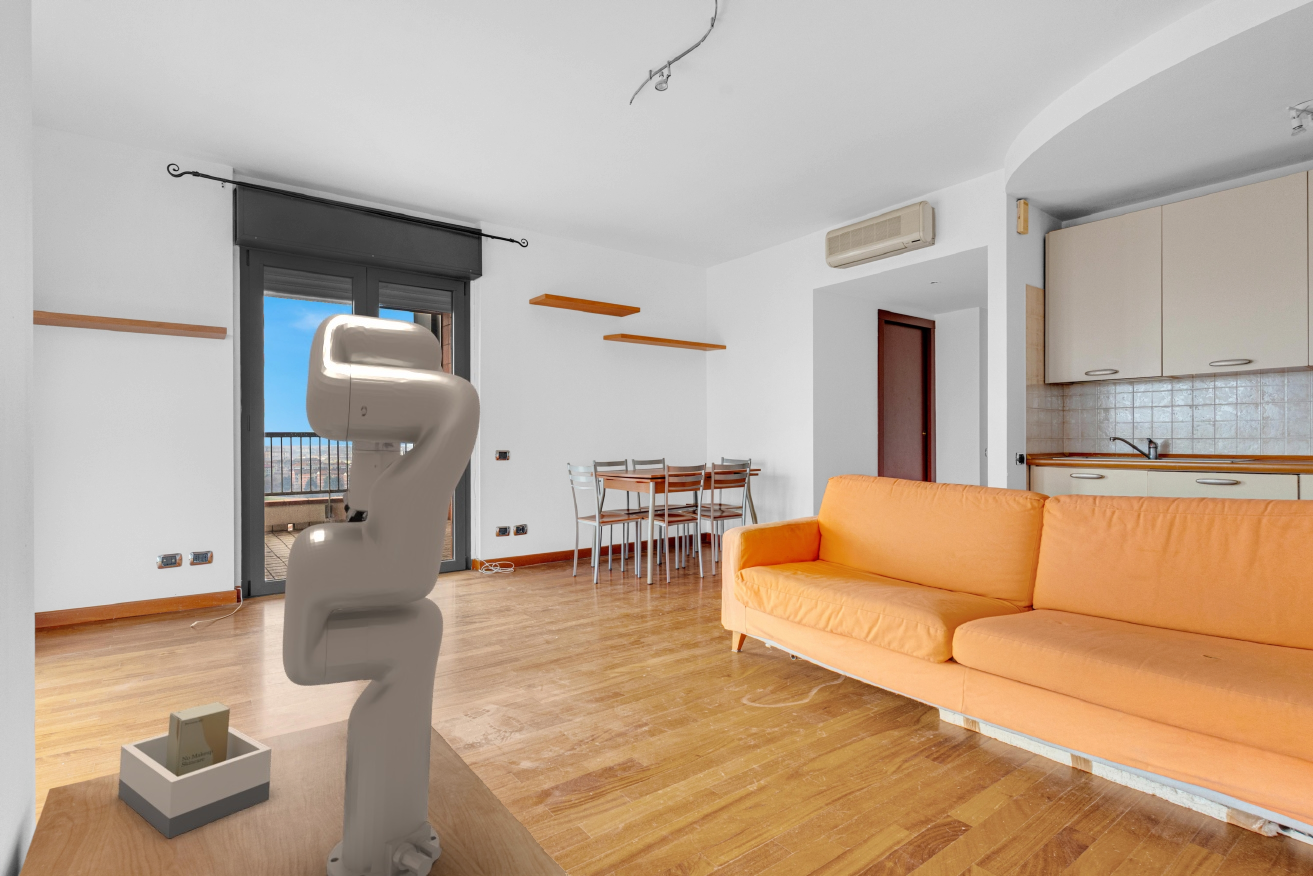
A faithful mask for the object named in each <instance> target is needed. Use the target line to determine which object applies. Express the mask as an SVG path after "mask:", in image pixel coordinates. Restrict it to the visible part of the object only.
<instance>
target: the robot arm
mask: <svg viewBox="0 0 1313 876" xmlns="http://www.w3.org/2000/svg"><path fill="white" fill-rule="evenodd" d="M442 353H443V351H442V347H441V344H440V341H439V340H438V338H437V337H436V335H435V334H434V333H433V332H432V331H431V330H430V329H428V328H427V327H425V326H424V325H421V324H419V323H415V322H413V321H412V322H411V321H408V320H402V319H393V318H384V317H376V316H368V315H360V314H359V315H358V314H351V313H335V314H332V315H329V316H327V317H326V318H325V319H323V320H322V321H321V322H320V323H319V325H318V326H317V328H316V330H315V333H314V335H313V338H312V341H311V346H310V351H309V361H308V371H307V373H308V374H307V384H306V385H307V386H306V387H307V388H306V397H305V412H306V417H307V421H308V424H309V427H310V428H311V430H312V431H313V432H314V433H315V434H316V435H317V436H319V437H321V438H323V439H326V440H328V441H329V440H330V441H337V442H352V459H351V463H350V469H349V478H348V486H347V487H348V489H347V490H346V492H344V493H343V495H342V500H343V501H342V502H343V503H344V507H343V508H344V509H343V510H344V512H345V513H346V515H345V521H346V522H326V523H319V524H318V523H317V524H313V525H311V526H307V527H306V528H303V530H301V531H300V533H298V535H297V536H296V537H295V538H294V541H293V543H292V545H291V548H290V550H289V555H288V557H287V559H288V560H287V566H286V574H285V589H284V590H285V591H284V592H285V593H284V611H283V612H284V613H283V628H282V629H283V631H282V664H283V668H284V672H285V675H286V677H287V679H288V680H289V681H290V682H291V683H293V684H295V685H298V686H304V687H306V686H307V687H310V686H325V685H333V684H341V683H342V684H343V683H348V682H357V681H370V682H369V683H368V685H366V687H365V688H364V689H363V691H361V692H360V693H361V694H360V695H359V696H358V698H356V701H355V702H354V704H353V706H352V708H351V710H350V713H349V716H348V720H347V731H346V733H347V735H346V750H345V751H346V753H345V754H346V755H345V774H344V775H345V777H344V778H345V780H344V783H345V784H344V798H343V799H344V801H343V802H344V803H343V827H342V839H341V840H340V841H339V842H337V844H335V846H333V847H332V849H331V850H330V851H329V854H328V856H327V860H326V875H327V876H428V874H429V873H430V871H431V869H432V866H433V864H434V862H435V861H437V859H439V858H440V856H441V855H442V850H443V849H442V847H440V837H439V833H437V832H436V830H435V829H434V828H433V827H432V823H431V822H429V821H428V813H429V790H430V788H429V786H430V768H431V767H430V766H431V743H432V741H431V739H432V721H433V720H432V719H433V718H432V717H433V698H434V688H435V687H434V686H435V679H436V672H437V666H438V661H439V656H440V651H441V650H440V649H441V646H442V641H443V640H442V639H443V633H444V619H443V614H442V611H441V609H440V607H439V606H438V605H437V604H436V602H434V601H433V600H432V599H429V598H428V597H427V596H429V595H430V594H431V593H432V591H433V590H434V588H435V586H436V584H437V582H438V577H439V574H440V569H441V565H442V560H443V559H442V557H443V552H444V545H445V540H446V539H445V538H446V532H447V524H448V518H449V511H450V506H451V501H452V497H453V496H454V493H455V490H456V487H457V486H458V484H459V482H460V480H461V478H462V476H463V474H464V472H465V470H466V469H467V466H468V465H469V462H470V459H471V457H472V454H473V452H474V449H475V446H476V442H477V438H478V433H479V427H480V420H481V419H480V417H481V404H480V403H481V402H480V397H479V393H478V391H477V389H476V387H475V385H473V384H472V383H471V382H470V381H469V380H468V379H465V378H464V377H461V376H459V375H456V374H453V373H449V372H444V369H443V367H442V366H441V364H442V358H443V354H442ZM402 444H412V445H414V446H413V447H412V448H411V449H409V450H408V451H406V452H405V453H404V454H401V448H402V447H401V445H402ZM366 515H367V517H366ZM365 517H366V519H365Z"/></svg>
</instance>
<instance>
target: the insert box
mask: <svg viewBox="0 0 1313 876" xmlns="http://www.w3.org/2000/svg"><path fill="white" fill-rule="evenodd" d="M168 733H169V732H167V733H162V734H159V735H155V736H152V737H149V738H144V739H140V740H137V741H133V742H130V743H127V744H123V745H121V747H120V758H119V759H120V761H119V781H118V795H117V796H118V798H119V799H120V800H122V801H123V802H124V803H125V804H126V805H127V806H128V807H130V808H131V809H132V810H134V811H135V812H136V813H137V814H139V816H141V817H142V818H143V819H144V820H146V822H148V823H149V824H150V825H151V826H153V828H155V829H156V830H157V831H158V832H160V833H161V834H162V835H163V836H164V837H166V838H167V839H168V840H169V839H172V838H175V837H177V836H180V835H182V834H184V833H187V832H189V831H192V830H194V829H197V828H200V827H203V826H205V825H207V824H210V823H213V822H215V821H217V820H220V819H222V818H225V817H227V816H230V815H232V814H235V813H238V812H241V811H242V810H245V809H248V808H250V807H252V806H255V805H257V804H260V803H263V802H265V801H268V800H270V785H271V783H270V782H271V781H270V780H271V763H272V748H271V747H269V746H267V745H265V744H263V743H261V742H260V741H258V740H256V739H254V738H253V737H251V736H248V735H247V734H245V733H243V732H242V731H241V730H240V731H239V730H237V729H236V728H235V727H232V726H230V725H229V728H228V742H227V756H226V761H224V762H221V763H218V764H215V765H212V766H209V767H206V768H203V769H200V770H197V771H194V772H191V773H188V774H185V775H182V776H179V777H177V776H176V775H174V774H173V773H171V772H170V771H168V770H167V769H166V757H167V745H168Z"/></svg>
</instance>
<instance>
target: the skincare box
mask: <svg viewBox="0 0 1313 876" xmlns="http://www.w3.org/2000/svg"><path fill="white" fill-rule="evenodd" d="M230 711H231V708H230V707H228V706H227V705H225V704H223V703H222V702H220V701H217V702H212V703H208V704H204V705H203V704H202V705H197V706H193V707H190V708H187V709H186V708H185V709H183V710H177V711H173V712H170V713H169V723H168V724H169V725H168V732H167V733H168V745H167V757H166V769H167V770H168V771H170V772H171V773H173V774H174V775H176V776H177V777H179V776H182V775H185V774H188V773H191V772H194V771H197V770H200V769H203V768H206V767H209V766H212V765H215V764H218V763H221V762H224V761H226V756H227V742H228V728H229V726H230V714H231V713H230Z"/></svg>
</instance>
